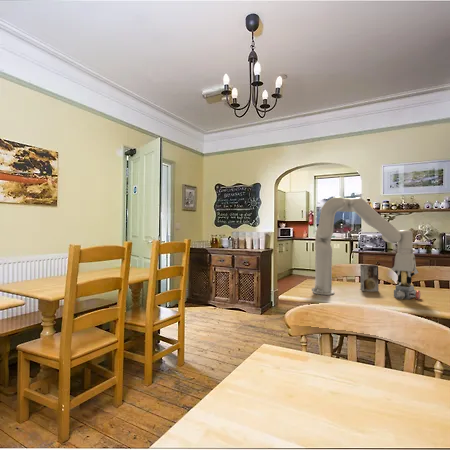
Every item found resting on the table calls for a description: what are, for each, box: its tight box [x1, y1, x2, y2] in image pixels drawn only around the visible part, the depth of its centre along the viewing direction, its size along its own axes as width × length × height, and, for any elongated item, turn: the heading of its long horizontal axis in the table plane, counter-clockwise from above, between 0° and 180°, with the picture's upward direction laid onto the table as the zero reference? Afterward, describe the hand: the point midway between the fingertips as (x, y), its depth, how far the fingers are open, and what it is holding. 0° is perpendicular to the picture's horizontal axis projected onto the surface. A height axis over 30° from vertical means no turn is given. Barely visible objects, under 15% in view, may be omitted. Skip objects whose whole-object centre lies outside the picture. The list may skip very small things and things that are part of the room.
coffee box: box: [359, 264, 380, 292], centre depth 193 cm, size 9×6×16 cm
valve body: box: [393, 283, 421, 301], centre depth 175 cm, size 16×11×7 cm
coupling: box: [400, 271, 410, 287], centre depth 176 cm, size 4×4×10 cm
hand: (404, 282), depth 176 cm, fingers closed on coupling, 3 cm apart
